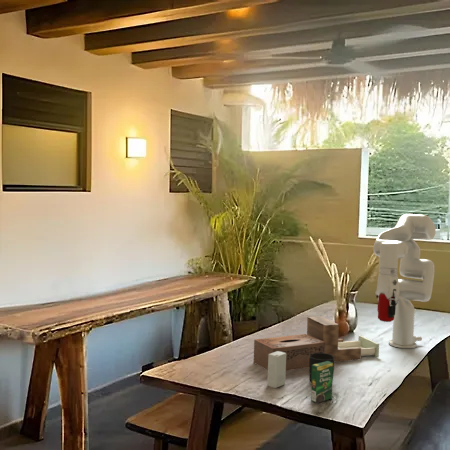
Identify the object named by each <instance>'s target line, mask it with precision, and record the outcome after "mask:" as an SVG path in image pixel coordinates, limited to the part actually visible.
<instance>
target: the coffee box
mask: <svg viewBox="0 0 450 450" xmlns="http://www.w3.org/2000/svg"><path fill="white" fill-rule="evenodd" d="M332 378H334V372H333V363H332V362H330V361H325V362H322V363H318V364H313V365H312V379H311V382H310V383H311V384H310V385H311V386H310V387H311V388H310V391H311V392H310V402H312V403H314V402H315V403H314V404H318V403H321V402H325V401H330V400H332V399H333V382H332ZM329 399H330V400H329Z"/></svg>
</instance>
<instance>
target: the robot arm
mask: <svg viewBox="0 0 450 450" xmlns="http://www.w3.org/2000/svg"><path fill="white" fill-rule="evenodd" d="M436 231H437V230H436V225H435V224H434V221H433V220H432V219H431V217H430V216H428V215H426V214H415V213H414V214H413V213H405V214H402V215H401V216H400V217H399V219H398V220H397V222H396V224H395V226H394V227H392V228H389V229H387V230H385V231H383V232H381V233H379V235H378V236H377V237H376V239H375V241H374V244H373V247H372V249H373V253H374V255H375V256H377V257H378V258H379V259H378V262H379V263H378V275H377V276H378V277H377V282H376V290H375V291H374V294H375V296H376V302H377V303H378V301H379V295H380V293H385V296H386V297H387V299H388V300H389V305H390V306H388V315H389V316H390V315H394V320H393V321H392V337H391V339H389V341H388V344H389V345H390V346H391V347H395V348H398V349H415V348H416V347H417V342H421V341H422V340H423V338H422V336H415V333H414V332H415V313H416V311H415V307H414V305H413V304H412V301H414V302H415V301H416V302H423V303H426V302H429V301H430V299H431V297H432V293H433V287H434V286H433V285H434V279H435V263H434V262H433V261H432V260H431V259H425V258H421V248H420V246H419V245H418V243H417V242H416V241H415V240H425V241H431V240H433V239H434V238H435V236H436ZM399 259H400V262H399ZM398 264H399V265H398ZM398 266H399V270H398ZM398 272H399V275H400V276H401V277H404V278H399V276H398ZM406 278H409V279H406ZM415 279H416V280H415ZM391 297H393V298H391ZM391 300H393V302H391ZM376 310H377V312H378V308H377V309H376Z"/></svg>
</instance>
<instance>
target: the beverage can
mask: <svg viewBox="0 0 450 450" xmlns="http://www.w3.org/2000/svg"><path fill="white" fill-rule="evenodd" d="M391 298H393V297H391ZM391 302H393V300H391ZM388 306H390V305H389V300H388V299H387V297H386V296H385V293H380V295H379V301H378V302H377V309H378V311H377V319H378V320H379V321H380V322H384V323H385V322H386V323H391V322H393V320H394V315H390V316H389V315H388Z"/></svg>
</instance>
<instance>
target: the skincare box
mask: <svg viewBox="0 0 450 450" xmlns="http://www.w3.org/2000/svg"><path fill="white" fill-rule="evenodd" d="M286 373H287V371H286V353H284V352H280V351H276V352H274V353H271V354H269V357H268V370H267V379H266V380H267V382H266V383H267V384H266V385H267V386H269V387H270V388H274V389H277V388H279V387H282V386H283V385H284V386H285V384H286Z"/></svg>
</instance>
